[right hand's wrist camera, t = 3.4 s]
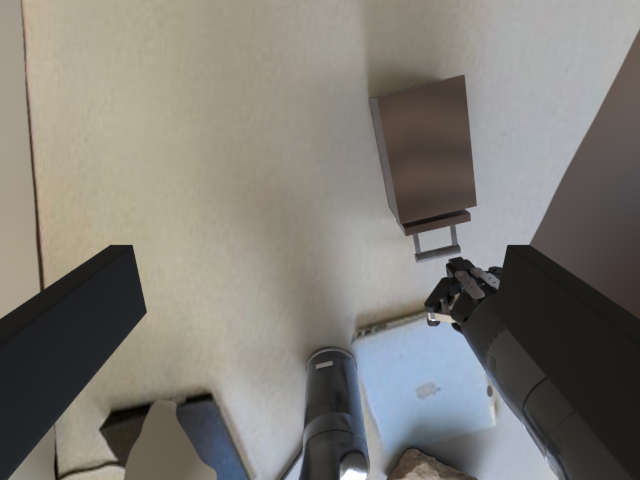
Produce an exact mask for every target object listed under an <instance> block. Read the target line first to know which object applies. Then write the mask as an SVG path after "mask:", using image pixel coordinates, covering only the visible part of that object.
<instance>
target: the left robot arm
mask: <svg viewBox="0 0 640 480" xmlns="http://www.w3.org/2000/svg"><path fill="white" fill-rule="evenodd" d="M502 269H503V268H501V267H496V266H494V267H490V268H489V269H488V270H489V271H483V270H482V269H481V268H476V267H475V266H474V265H473V264H472V263H471V262H470V261H469V260H467V259H465V260H464V259H463V258H462V257H457V258H452V259H449V263H447V264H446V270H447V276H448V277H444V278H442V279H441V280H440V282H439V283H438V285H437V286H436V287H435V289H434V290H433V292H432V293H431V295H430V296H429V297H428V299H427V300H426V302H425V303H424V305H425V311H426V317H427V323H428V325H429V326H437V325H439V324H440V322H441V321H442V322H447V323H451V324H452V327H453V328H454V329H455V330H456V331H458V332H459V333H461V334H463V335H464V337H465V338H466V340H467V342H468V344H469V346H470V347H471V349H472V350H473V352H474V354H475V355H476V357H477V358H478V360H479V362H480V363H481V365H482V366H483V368H484V370H485V371H486V373H487V375H488V376H489V378H490V379H491V381H492V383H493V384H494V386H495V387H496V389H497V391H498V392H499V394H500V396H501V397H502V399H503V400H504V402H505V403H506V404H507V406H508V407H509V408H510V410H511V411H512V412H513V413H514V414H515V416H516V417H517V418H518V419H519V420H520V422H521V423H522V424H523V426H524V427H525V428H526V430H527V432H528V433H529V435H530V437H531V438H532V440H533V441H534V443H535V444H536V446H537V448H538V449H539V451H540V452H541V454H542V456H543V457H544V459H545V460H546V462H547V463H548V465H549V466H550V468H551V470H552V471H553V472H554V474H555V475H556V477H557V478H558V480H632V479H631V477H630V476H629V475H628V474H627V473H626V471H625V470H624V469H623V468H622V467H621V465H620V464H619V463H618V462H617V461H616V459H615V458H614V457H613V456H612V455H611V453H610V452H609V451H608V450H607V449H606V447H605V446H604V445H603V444H602V442H601V441H600V440H599V439H598V438H597V436H596V435H595V434H594V433H593V432H592V430H591V429H590V428H589V427H588V426H587V424H586V423H585V422H584V421H583V420H582V418H581V417H580V416H579V415H578V414H577V412H576V411H575V410H574V409H573V408H572V406H571V405H570V404H569V403H568V402H567V400H566V399H565V398H564V397H563V396H562V394H561V393H560V392H559V391H558V390H557V388H556V387H555V386H554V385H553V384H552V382H551V381H550V380H549V379H548V378H547V376H546V375H545V374H544V373H543V372H542V370H541V369H540V368H539V367H538V366H537V364H536V363H535V362H534V361H533V360H532V358H531V357H530V356H529V355H528V354H527V352H526V351H525V350H524V349H523V348H522V346H521V345H520V344H519V343H518V342H517V340H516V339H515V338H514V337H513V336H512V334H511V333H510V332H509V331H508V330H507V328H506V327H505V326H504V325H503V324H502V322H501V321H500V320H499V319H498V318H497V316H496V315H495V314H494V313H493V311H494V306H495V301H496V297H497V292H498V287H499V283H500V278H501V273H502ZM457 294H459V297H458V299H457V301H456V302H455V304H454V306H453V308H452V310H450V309H449V307H450V306H451V304H452V302H453V301H454V299H455V295H457ZM306 373H307V378H306V396H305V416H304V439H303V446H302V448H301V450H300V452H299V453H298V455H297V456H296V458H295V459H294V460H293V462H292V463H291V465H290V466H289V468H288V469H287V471H286V472H285V473H284V475H283V476H282V478H281V479H280V480H285V479H286V478H287V476H288V475H289V473H290V472H291V470H292V469H293V468H294V466H295V465H296V463H297V462H298V461H299V459H300V458H301V456H302V455H303V458H302V465H301V470H300V475H299V480H366V479H367V477H368V474H369V470H370V462H369V454H368V446H367V439H366V432H365V425H364V418H363V411H362V404H361V397H360V389H359V382H358V375H357V364H356V361H355V359H354V357H353V356H352V355H351V354H350V353H349V352H347V351H345V350H343V349H340V348H335V347H329V348H324V349H321V350H318V351H317V352H315V353H314V354H313V355H312V356H311V357H310V358H309V360H308V362H307V367H306Z"/></svg>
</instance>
